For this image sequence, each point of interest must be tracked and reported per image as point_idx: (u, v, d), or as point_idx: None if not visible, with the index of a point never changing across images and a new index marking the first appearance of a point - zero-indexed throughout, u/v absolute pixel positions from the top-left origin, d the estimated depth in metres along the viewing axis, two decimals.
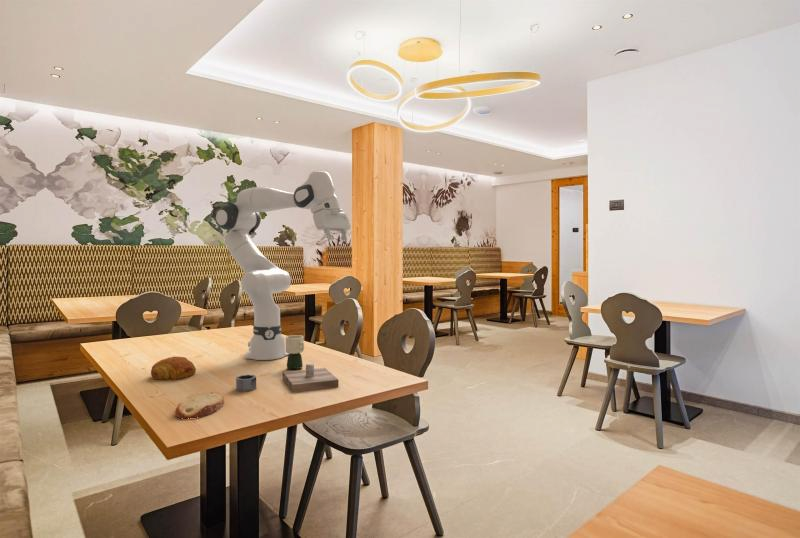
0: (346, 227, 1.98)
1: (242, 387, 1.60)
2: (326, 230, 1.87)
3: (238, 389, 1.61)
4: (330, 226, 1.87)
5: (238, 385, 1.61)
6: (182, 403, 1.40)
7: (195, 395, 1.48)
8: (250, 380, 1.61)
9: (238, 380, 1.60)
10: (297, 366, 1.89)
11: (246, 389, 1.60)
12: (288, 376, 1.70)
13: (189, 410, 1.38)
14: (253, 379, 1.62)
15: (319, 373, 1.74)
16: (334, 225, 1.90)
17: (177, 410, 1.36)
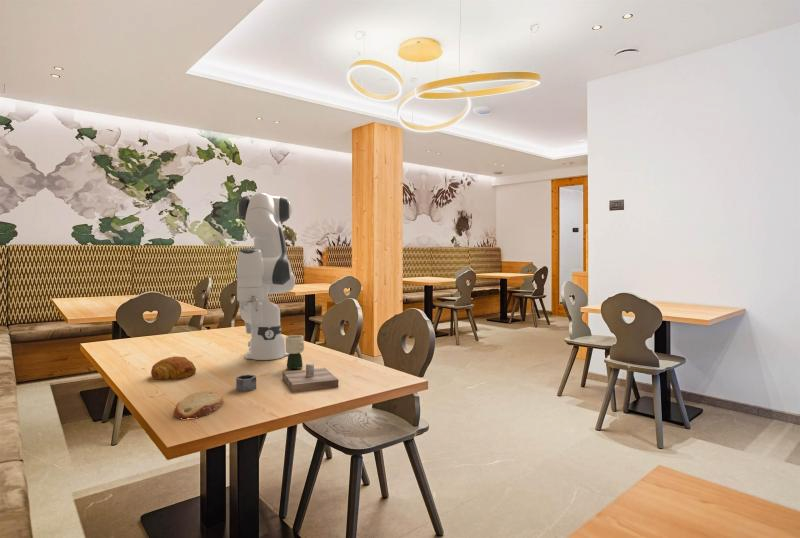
0: (249, 323, 1.56)
1: (242, 387, 1.60)
2: None
3: (238, 389, 1.61)
4: (243, 319, 1.66)
5: (238, 385, 1.61)
6: (181, 403, 1.40)
7: (194, 395, 1.48)
8: (250, 380, 1.61)
9: (238, 380, 1.60)
10: (297, 366, 1.89)
11: (246, 389, 1.60)
12: (288, 376, 1.70)
13: (188, 410, 1.38)
14: (253, 379, 1.62)
15: (319, 373, 1.74)
16: (244, 318, 1.64)
17: (175, 410, 1.36)
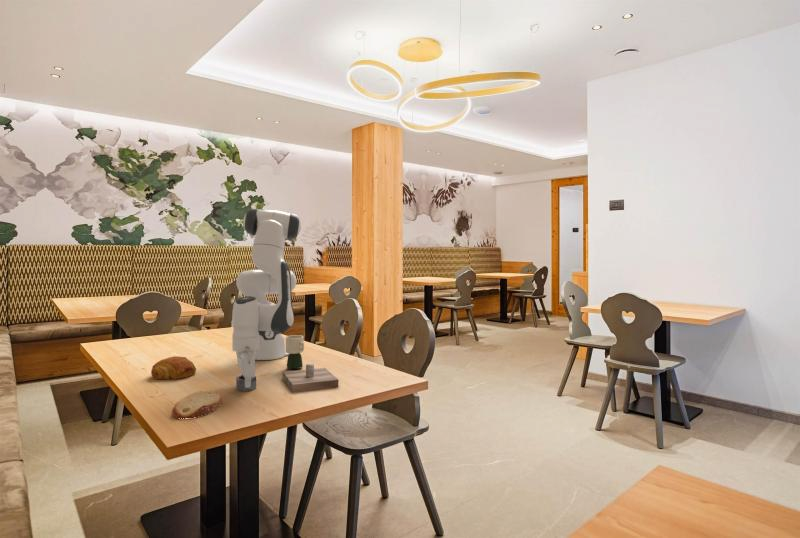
0: (242, 374, 1.57)
1: (242, 387, 1.60)
2: None
3: (238, 389, 1.61)
4: (239, 366, 1.67)
5: (238, 385, 1.61)
6: (179, 403, 1.40)
7: (193, 395, 1.48)
8: None
9: (238, 380, 1.60)
10: (297, 366, 1.89)
11: (246, 389, 1.60)
12: (288, 376, 1.70)
13: (186, 410, 1.38)
14: (253, 379, 1.62)
15: (319, 373, 1.74)
16: None
17: (174, 410, 1.36)
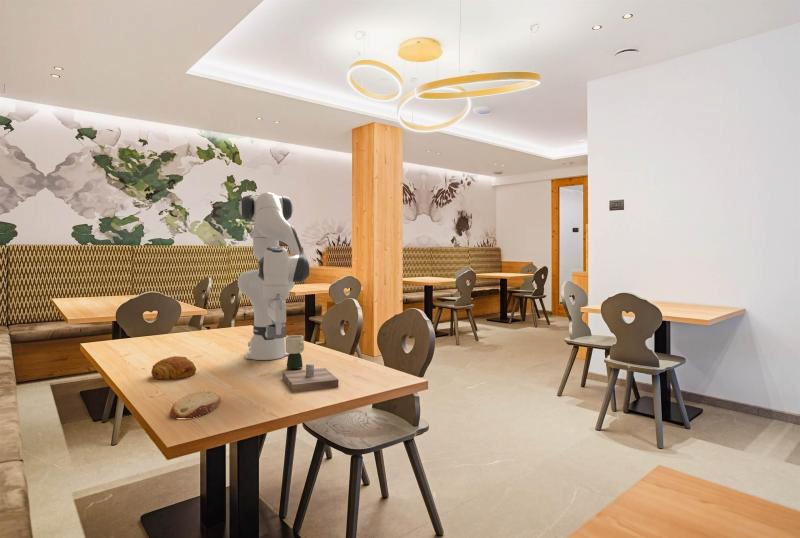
0: (274, 320, 1.60)
1: (273, 334, 1.63)
2: None
3: (269, 336, 1.64)
4: (269, 316, 1.70)
5: (269, 332, 1.64)
6: (177, 403, 1.40)
7: (191, 395, 1.48)
8: None
9: (269, 327, 1.64)
10: (297, 366, 1.89)
11: (277, 336, 1.63)
12: (288, 376, 1.70)
13: (184, 410, 1.38)
14: (283, 327, 1.65)
15: (319, 373, 1.74)
16: (270, 315, 1.68)
17: (172, 410, 1.36)
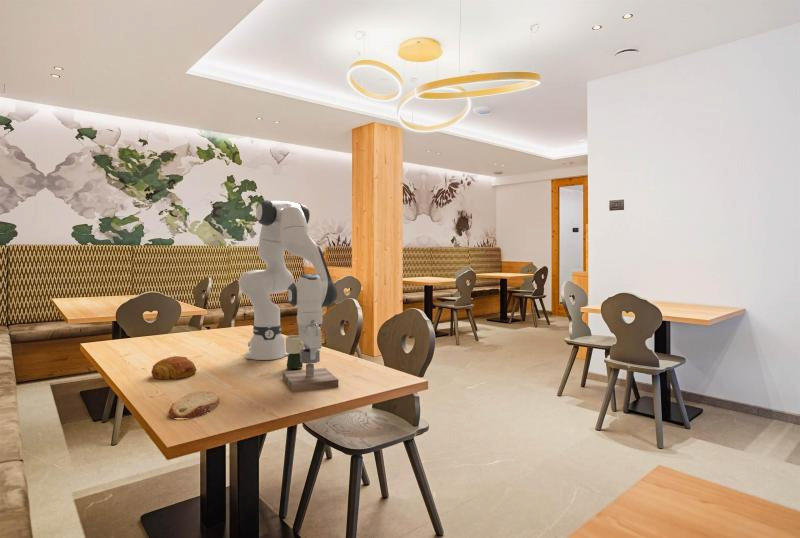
0: (309, 346, 1.64)
1: (307, 359, 1.68)
2: None
3: (303, 361, 1.68)
4: (301, 340, 1.75)
5: (303, 357, 1.68)
6: (176, 403, 1.40)
7: (191, 395, 1.48)
8: None
9: (303, 353, 1.68)
10: (297, 366, 1.89)
11: (311, 361, 1.68)
12: (288, 376, 1.70)
13: (183, 410, 1.38)
14: (317, 352, 1.70)
15: (319, 373, 1.74)
16: (303, 340, 1.72)
17: (170, 410, 1.36)
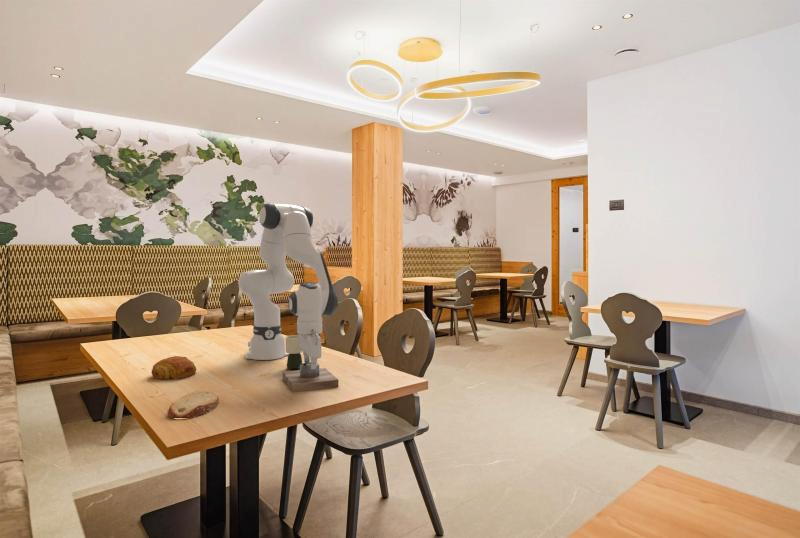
0: (309, 355, 1.65)
1: (307, 373, 1.68)
2: None
3: (303, 376, 1.69)
4: (301, 349, 1.75)
5: (303, 372, 1.69)
6: (175, 403, 1.40)
7: (190, 395, 1.48)
8: None
9: (303, 367, 1.69)
10: (297, 366, 1.89)
11: (311, 376, 1.68)
12: (288, 376, 1.70)
13: (182, 410, 1.38)
14: (317, 366, 1.70)
15: (319, 373, 1.74)
16: (303, 349, 1.72)
17: (169, 410, 1.36)
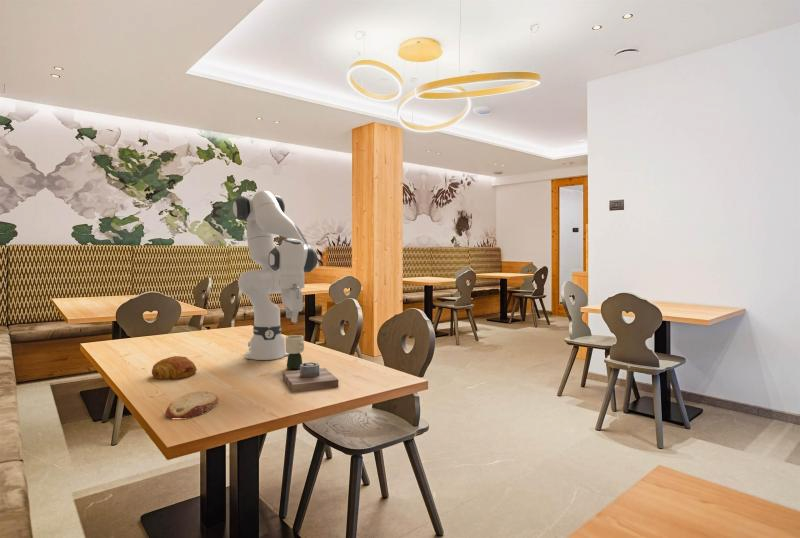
0: (290, 309, 1.68)
1: (307, 373, 1.68)
2: None
3: (303, 376, 1.69)
4: (284, 304, 1.79)
5: (303, 372, 1.69)
6: (174, 403, 1.40)
7: (189, 395, 1.48)
8: (314, 367, 1.69)
9: (303, 367, 1.69)
10: (297, 366, 1.89)
11: (311, 376, 1.68)
12: (288, 376, 1.70)
13: (180, 410, 1.38)
14: (317, 366, 1.70)
15: (319, 373, 1.74)
16: (285, 304, 1.76)
17: (167, 410, 1.36)
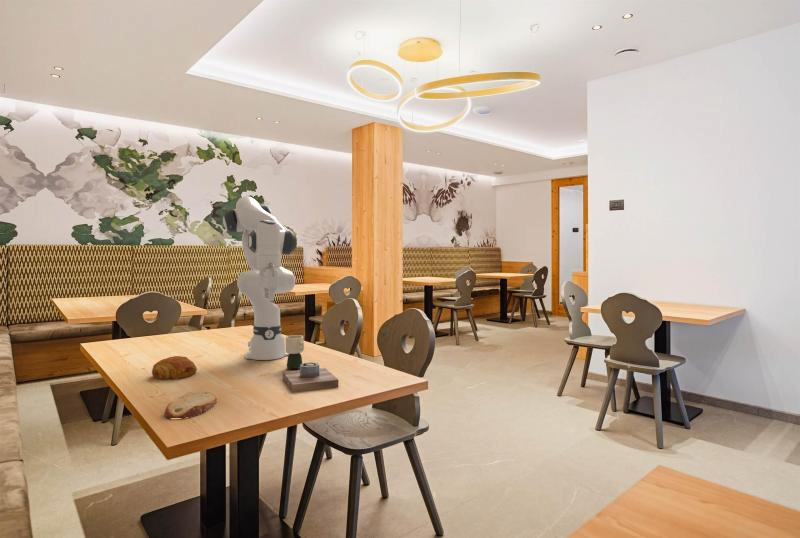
0: (266, 287, 1.72)
1: (307, 373, 1.68)
2: None
3: (303, 376, 1.69)
4: (262, 285, 1.83)
5: (303, 372, 1.69)
6: (173, 403, 1.40)
7: (188, 395, 1.48)
8: (314, 367, 1.69)
9: (303, 367, 1.69)
10: (297, 366, 1.89)
11: (311, 376, 1.68)
12: (288, 376, 1.70)
13: (179, 410, 1.38)
14: (317, 366, 1.70)
15: (319, 373, 1.74)
16: (263, 284, 1.80)
17: (166, 410, 1.36)
